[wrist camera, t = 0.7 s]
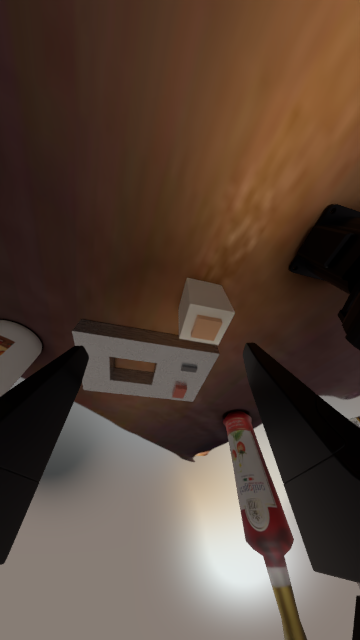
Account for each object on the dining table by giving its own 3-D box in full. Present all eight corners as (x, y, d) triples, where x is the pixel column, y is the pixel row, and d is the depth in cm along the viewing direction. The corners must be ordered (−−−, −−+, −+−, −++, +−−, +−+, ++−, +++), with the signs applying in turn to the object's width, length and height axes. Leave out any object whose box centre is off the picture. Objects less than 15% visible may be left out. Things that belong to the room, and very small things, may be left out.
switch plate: (216, 341, 26) (220, 357, 23) (191, 389, 34) (193, 405, 32) (81, 319, 23) (69, 334, 20) (89, 377, 31) (82, 393, 29)
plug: (221, 285, 20) (237, 316, 15) (209, 313, 23) (219, 349, 18) (186, 277, 20) (190, 307, 14) (178, 307, 22) (179, 342, 17)
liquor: (227, 423, 44) (278, 655, 22) (216, 413, 41) (264, 679, 18) (254, 417, 42) (341, 666, 20) (245, 405, 38) (340, 697, 16)
